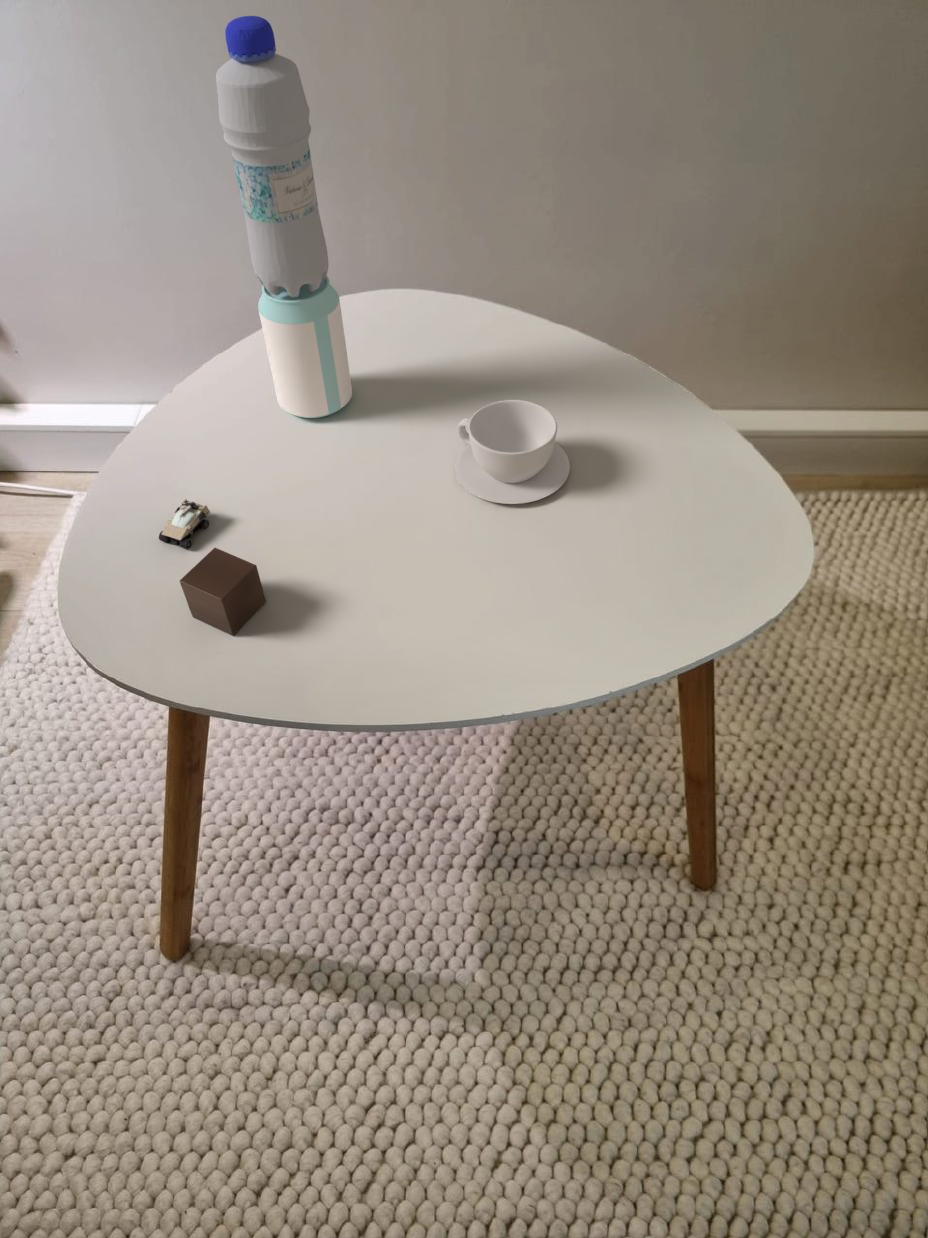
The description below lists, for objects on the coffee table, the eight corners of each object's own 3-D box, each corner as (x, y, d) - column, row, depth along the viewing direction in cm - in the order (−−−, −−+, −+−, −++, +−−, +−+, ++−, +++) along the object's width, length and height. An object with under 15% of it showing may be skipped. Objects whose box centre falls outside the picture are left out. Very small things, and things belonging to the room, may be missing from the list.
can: (265, 397, 91) (239, 280, 82) (328, 370, 93) (310, 254, 84) (302, 432, 87) (279, 314, 78) (367, 403, 89) (352, 285, 80)
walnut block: (233, 636, 71) (221, 600, 68) (192, 617, 72) (178, 580, 69) (266, 601, 73) (256, 565, 70) (226, 583, 74) (214, 546, 71)
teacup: (587, 452, 84) (590, 408, 80) (540, 521, 78) (542, 477, 74) (485, 423, 87) (484, 379, 83) (433, 487, 81) (430, 443, 78)
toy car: (160, 542, 78) (153, 524, 76) (189, 511, 80) (183, 493, 79) (187, 551, 77) (180, 532, 75) (215, 519, 79) (209, 501, 78)
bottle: (295, 312, 78) (246, 39, 63) (238, 289, 81) (178, 22, 66) (350, 278, 81) (315, 11, 66) (293, 256, 84) (248, -5, 69)
